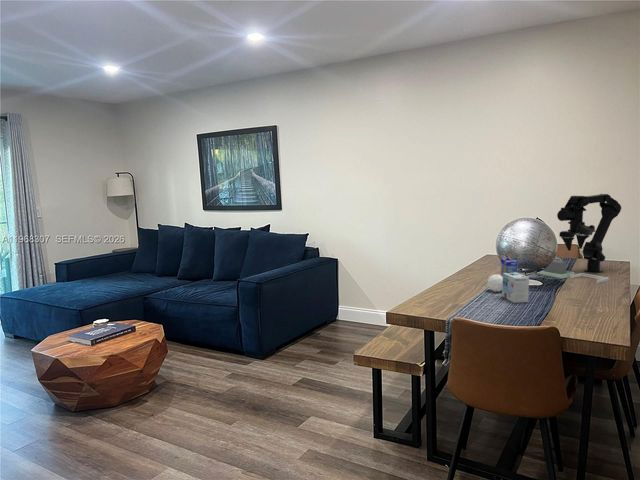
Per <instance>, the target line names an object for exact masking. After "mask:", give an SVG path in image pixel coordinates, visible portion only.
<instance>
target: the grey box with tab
mask: <svg viewBox="0 0 640 480" xmlns="http://www.w3.org/2000/svg"><path fill="white" fill-rule="evenodd" d="M553 260H554V261H553V262H552V263H551V264H550V265H549V266H548V267H547V268H546V269H544V268H543V269H544V272H550V273H555V274H560V275H562V274H566V271H567V261H564V260H562V258H561V257H555V259H553Z"/></svg>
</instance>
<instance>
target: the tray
mask: <svg viewBox="0 0 640 480" xmlns="http://www.w3.org/2000/svg"><path fill="white" fill-rule="evenodd" d="M534 273H535V272H534ZM574 274H576V273H575V271H570V270H566V274H562V275H560V274H555V273H550V272H544V270H543V271H540V272H537V273H535V275H540V276H545V277H551V278H555V279H560V280H561V279H562V280H563V279H566V278H570V275H574Z"/></svg>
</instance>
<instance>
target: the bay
mask: <svg viewBox="0 0 640 480" xmlns="http://www.w3.org/2000/svg"><path fill="white" fill-rule="evenodd" d="M579 277H584V278H585V277H586V278H590V279H596V282H595V283H596V284H601V283H606V282H609V281H610V277H606V276H601V275H595V274H589V273H584V272H580V273H575V274H574V275H570V277H569V279H573V278H579Z"/></svg>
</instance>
